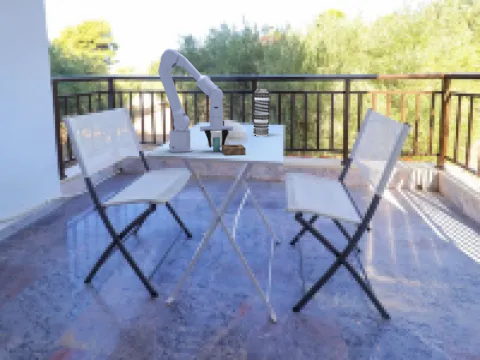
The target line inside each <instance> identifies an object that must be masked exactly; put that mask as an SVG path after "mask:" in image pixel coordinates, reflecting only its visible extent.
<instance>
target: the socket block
mask: <svg viewBox="0 0 480 360" xmlns="http://www.w3.org/2000/svg"><path fill="white" fill-rule="evenodd" d="M246 152H247V151H246V147H245V146H244V145H243V144H242V143H241V144H239V143H238V144H228V145H222V146H221V153H222V154H223V155H224V156H245V155H246Z"/></svg>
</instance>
